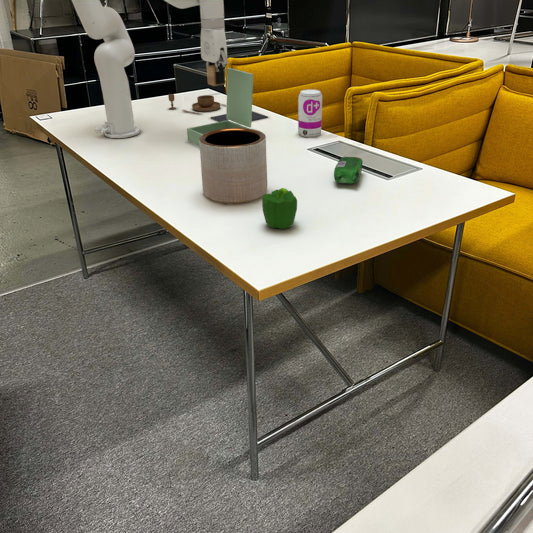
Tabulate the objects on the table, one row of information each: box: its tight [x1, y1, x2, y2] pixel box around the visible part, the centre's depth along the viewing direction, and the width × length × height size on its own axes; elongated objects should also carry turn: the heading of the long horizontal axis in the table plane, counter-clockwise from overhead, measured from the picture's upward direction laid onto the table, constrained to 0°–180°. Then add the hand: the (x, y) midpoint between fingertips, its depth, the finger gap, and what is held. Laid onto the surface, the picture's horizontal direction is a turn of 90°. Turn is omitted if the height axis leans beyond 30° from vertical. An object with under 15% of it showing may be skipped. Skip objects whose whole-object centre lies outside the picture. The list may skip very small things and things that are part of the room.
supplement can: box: [297, 88, 323, 138], centre depth 196 cm, size 8×8×15 cm
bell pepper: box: [261, 187, 298, 230], centre depth 132 cm, size 8×8×10 cm
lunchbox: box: [186, 120, 250, 146], centre depth 192 cm, size 17×15×5 cm
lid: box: [225, 67, 254, 129], centre depth 191 cm, size 17×15×1 cm
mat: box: [210, 110, 269, 122], centre depth 220 cm, size 18×14×1 cm
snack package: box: [333, 156, 364, 185], centre depth 159 cm, size 7×16×5 cm, turn 164°
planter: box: [199, 127, 268, 204], centre depth 149 cm, size 18×18×16 cm
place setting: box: [167, 93, 227, 115], centre depth 235 cm, size 18×20×6 cm
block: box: [206, 64, 226, 87], centre depth 187 cm, size 4×4×6 cm
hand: (216, 81), depth 189 cm, fingers closed on block, 4 cm apart
